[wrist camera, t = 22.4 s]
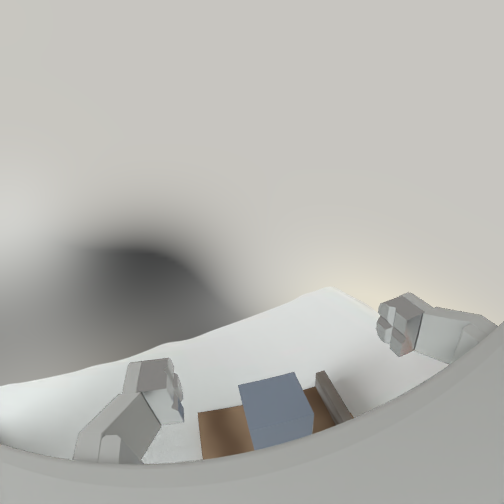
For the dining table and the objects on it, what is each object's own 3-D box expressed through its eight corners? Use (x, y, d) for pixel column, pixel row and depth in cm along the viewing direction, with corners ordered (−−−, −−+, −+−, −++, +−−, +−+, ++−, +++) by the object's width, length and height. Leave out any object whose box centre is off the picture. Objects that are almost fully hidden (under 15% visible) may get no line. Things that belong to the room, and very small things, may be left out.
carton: (263, 481, 22) (249, 430, 17) (254, 448, 26) (238, 385, 21) (309, 469, 22) (317, 412, 18) (296, 437, 27) (297, 371, 22)
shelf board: (220, 545, 14) (210, 542, 13) (200, 418, 33) (192, 400, 31) (385, 497, 17) (397, 487, 15) (324, 389, 35) (326, 369, 34)
